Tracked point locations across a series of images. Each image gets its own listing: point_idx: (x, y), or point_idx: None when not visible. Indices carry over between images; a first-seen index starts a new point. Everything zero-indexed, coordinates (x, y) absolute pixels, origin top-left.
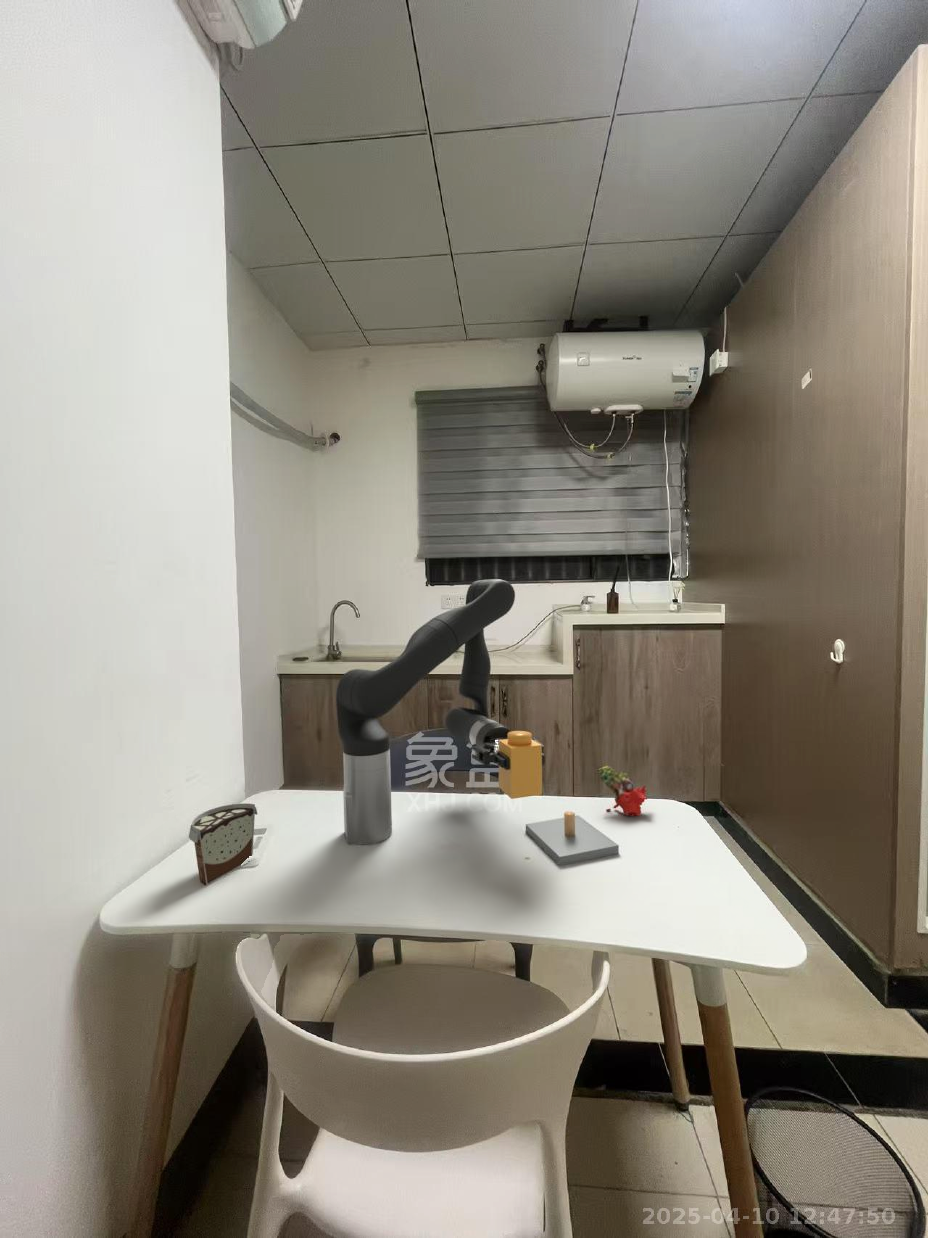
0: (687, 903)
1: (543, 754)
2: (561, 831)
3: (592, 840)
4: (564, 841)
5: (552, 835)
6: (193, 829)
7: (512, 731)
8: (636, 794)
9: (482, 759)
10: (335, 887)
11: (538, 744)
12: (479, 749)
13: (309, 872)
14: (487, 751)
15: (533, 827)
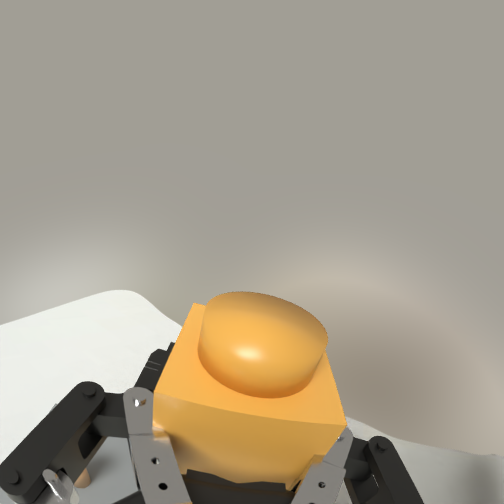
0: (110, 335)
1: (154, 355)
2: (83, 496)
3: None
4: (112, 471)
5: (113, 500)
6: None
7: (285, 360)
8: None
9: (371, 497)
10: (470, 496)
11: (199, 310)
12: (408, 475)
13: None
14: (378, 442)
15: None
